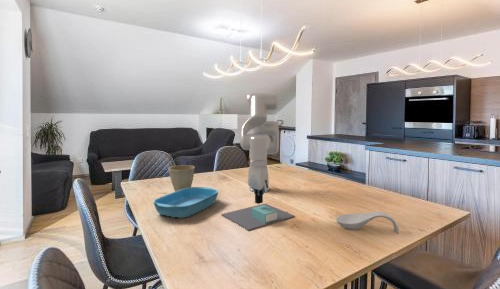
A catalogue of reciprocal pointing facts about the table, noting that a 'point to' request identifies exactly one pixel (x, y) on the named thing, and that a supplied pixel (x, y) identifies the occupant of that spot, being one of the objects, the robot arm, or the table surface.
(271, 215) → the teal rectangular block
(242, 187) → the table surface
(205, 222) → the table surface
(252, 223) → the mat
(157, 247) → the table surface
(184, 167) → the plant pot
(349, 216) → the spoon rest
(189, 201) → the casserole dish
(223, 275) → the table surface
